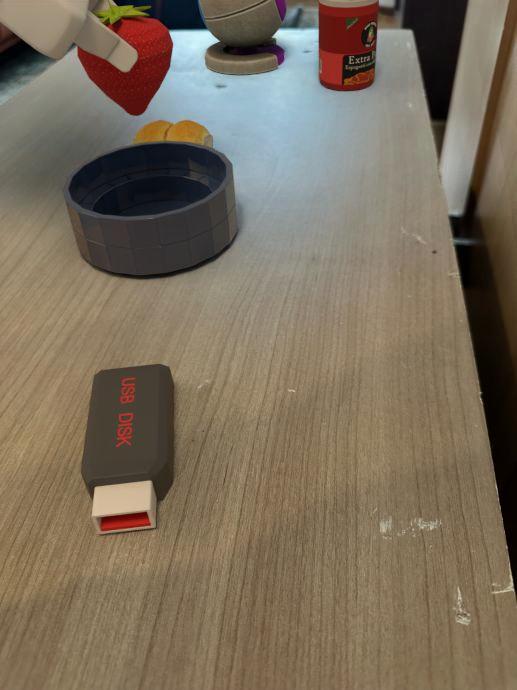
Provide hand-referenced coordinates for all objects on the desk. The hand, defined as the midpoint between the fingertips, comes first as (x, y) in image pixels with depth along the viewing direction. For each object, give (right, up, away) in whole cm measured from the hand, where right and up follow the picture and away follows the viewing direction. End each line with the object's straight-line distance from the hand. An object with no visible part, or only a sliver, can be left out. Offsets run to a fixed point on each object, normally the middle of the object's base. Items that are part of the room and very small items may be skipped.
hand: (132, 48), depth 51 cm
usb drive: (+2, -30, -9) cm, 32 cm away
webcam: (+8, +20, +48) cm, 53 cm away
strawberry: (0, -4, +4) cm, 6 cm away
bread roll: (0, -2, +24) cm, 24 cm away
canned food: (+22, +13, +39) cm, 47 cm away
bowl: (0, -13, +11) cm, 17 cm away
